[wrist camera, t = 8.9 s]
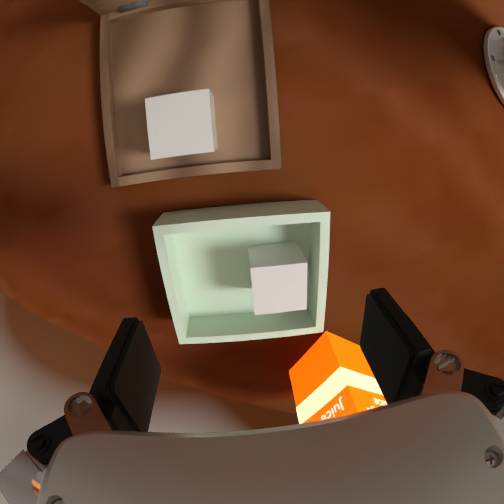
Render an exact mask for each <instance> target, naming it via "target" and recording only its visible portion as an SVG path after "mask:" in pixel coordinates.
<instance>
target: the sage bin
mask: <svg viewBox="0 0 504 504" xmlns="http://www.w3.org/2000/svg"><path fill="white" fill-rule="evenodd" d="M152 229H153V234H154V239H155V244H156V249H157V254H158V259H159V264H160V268H161V273H162V277H163V282H164V286H165V290H166V294H167V298H168V303H169V307H170V310H171V314H172V318H173V322H174V326H175V329H176V333H177V337H178V340H179V344H197V343H216V342H232V341H245V340H257V339H268V338H278V337H287V336H296V335H304V334H312V333H319V332H323V329H324V318H325V306H326V293H327V278H328V260H329V236H330V211H329V210H328V209H327V208H326V207H325V206H323V205H322V204H321V203H320V202H319V201H318V200H299V201H283V202H268V203H255V204H242V205H230V206H219V207H208V208H198V209H188V210H179V211H170V212H163V213H162V215H161V216H160V217H159V218H158V220H157V221H156V222H155V223H154V225H153V226H152ZM294 241H297V243H298V245H299V247H300V249H301V251H302V253H303V255H304V257H305V259H306V261H307V309H305V310H297V311H289V312H280V313H271V314H261V315H255V314H254V305H253V296H252V286H251V276H250V265H249V254H248V246H251V245H262V244H272V243H283V242H294Z"/></svg>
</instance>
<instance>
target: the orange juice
mask: <svg viewBox="0 0 504 504" xmlns="http://www.w3.org/2000/svg"><path fill="white" fill-rule="evenodd" d="M289 374H290V379H291V384H292V389H293V393H294V398H295V403H296V410H297V415H298V420H299V424H302V423H308V422H314V421H319V420H325V419H330V418H334V417H339V416H344V415H348V414H352V413H356V412H360V411H364V410H368V409H372V408H376V407H380V406H383V405H387V402H386V400H385V398H384V396H383V394H382V392H381V389H380V387H379V385H378V383H377V381H376V379H375V377H374V375H373V373H372V371H371V369H370V367H369V365H368V362H367V360H366V358H365V356H364V354H363V352H362V350H361V347H360V346H359V345H357V344H355V343H352V342H350V341H348V340H345V339H343V338H341V337H339V336H336V335H334V334H332V333H329V332H327V331H325V332H324V333H323V335H322V336H321V337H320V338H319V339H318V340H317V341H316V342H315V344H314V345H313V346H312V347H311V348H310V349H309V350H308V351H307V352H306V353H305V354H304V355H303V357H302V358H301V359H300V360H299V361H298V362H297V363H296V364H295V365H294V366H293V367H292V368H291V369H290V370H289Z"/></svg>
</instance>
